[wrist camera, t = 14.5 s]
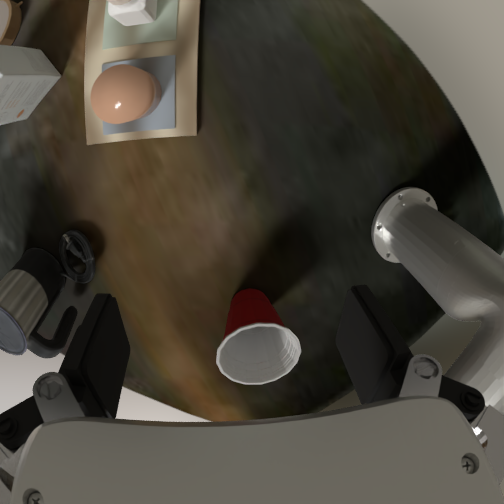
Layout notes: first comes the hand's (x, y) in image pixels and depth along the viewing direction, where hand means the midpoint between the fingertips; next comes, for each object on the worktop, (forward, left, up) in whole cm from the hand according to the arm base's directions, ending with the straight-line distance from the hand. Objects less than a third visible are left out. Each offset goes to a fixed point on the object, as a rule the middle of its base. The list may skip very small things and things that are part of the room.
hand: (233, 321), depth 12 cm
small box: (+26, -14, -28) cm, 41 cm away
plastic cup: (-4, +21, -28) cm, 36 cm away
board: (+10, -15, -28) cm, 34 cm away
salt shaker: (+10, -20, -27) cm, 35 cm away
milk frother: (+26, +13, -29) cm, 41 cm away
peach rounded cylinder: (+10, -10, -27) cm, 30 cm away
